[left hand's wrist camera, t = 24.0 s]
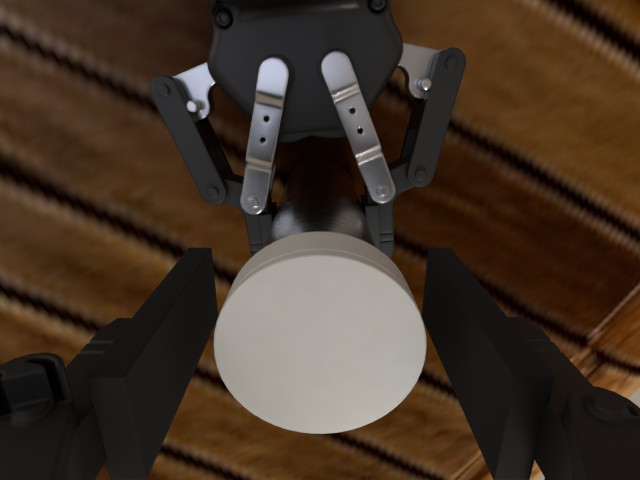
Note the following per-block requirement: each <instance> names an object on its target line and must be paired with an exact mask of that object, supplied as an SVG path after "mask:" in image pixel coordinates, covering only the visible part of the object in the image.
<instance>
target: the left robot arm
mask: <svg viewBox="0 0 640 480" xmlns="http://www.w3.org/2000/svg"><path fill="white" fill-rule="evenodd" d="M217 319H218V308H217V299H216V289H215V279H214V269H213V260H212V250H211V248H189V249H188V250H187V251H186V252H185V254H184V255H183V256H182V257H181V259H180V260H179V261H178V262H177V263H176V265H175V266H174V267H173V268H172V270H171V271H170V272H169V273H168V275H167V276H166V277H165V278H164V279H163V281H162V282H161V283H160V284H159V286H158V287H157V288H156V289H155V291H154V292H153V293H152V294H151V295H150V297H149V298H148V299H147V300H146V302H145V303H144V304H143V305H142V306H141V308H140V309H139V310H138V311H137V313H136V314H135V315H134V316H133V318H118V319H116V320H114V321H113V322H111V323H110V324H108V325H106V326H105V327H103V328H101V329H100V330H99V331H98V333H97V334H96V335H95V336H94V337H93V338H92V339H91V340H90V343H89V344H87V345H86V346H85V347H84V348H83V349H82V350H81V351H80V354H78V355H77V356H76V357H75V358H74V359H73V360H72V361H71V362H70V363H69V365H68V366H67V367H66V368H65V366H64V363H63V359H62V358H61V357H59V356H58V355H56V354H51V353H36V354H29V355H26V356H22V357H19V358H15V359H13V360H11V361H8V362H6V363H4V364H2V365H0V480H95V479H96V477H97V475H98V474H99V472H100V470H101V468H102V467H103V465H104V463H105V461H106V463H107V467H108V471H109V475H110V479H111V480H146V479H147V477H148V475H149V473H150V470H151V468H152V466H153V464H154V461H155V459H156V457H157V455H158V452H159V450H160V448H161V446H162V443H163V441H164V439H165V437H166V434H167V432H168V430H169V427H170V425H171V423H172V421H173V418H174V416H175V414H176V412H177V409H178V407H179V405H180V403H181V400H182V398H183V396H184V394H185V391H186V389H187V387H188V385H189V382H190V380H191V378H192V375H193V373H194V371H195V369H196V366H197V364H198V362H199V360H200V357H201V355H202V353H203V351H204V348H205V346H206V344H207V342H208V339H209V337H210V335H211V333H212V330H213V328H214V326H215V323H216V321H217ZM422 319H423V321H424V323H425V326H426V328H427V330H428V333H429V335H430V337H431V339H432V342H433V344H434V346H435V348H436V351H437V353H438V355H439V357H440V360H441V362H442V364H443V366H444V369H445V371H446V373H447V375H448V378H449V380H450V382H451V385H452V387H453V389H454V391H455V394H456V396H457V398H458V400H459V403H460V405H461V407H462V409H463V412H464V414H465V416H466V418H467V421H468V423H469V425H470V427H471V430H472V432H473V434H474V437H475V439H476V441H477V443H478V446H479V448H480V450H481V452H482V455H483V457H484V459H485V461H486V464H487V466H488V468H489V470H490V473H491V475H492V477H493V480H529V479H530V475H531V471H532V467H533V463H534V459H535V461H536V463H537V464H538V466H539V468H540V470H541V471H542V473H543V475H544V477H545V480H640V408H639V407H638V406H637V405H635V404H634V403H633V402H631V401H630V400H629V399H627V398H625V397H623V396H621V395H619V394H617V393H615V392H613V391H610V390H607V389H603V388H600V387H594V386H592V384H591V383H590V382H589V381H588V380H587V379H586V378H585V377H584V376H583V375H582V374H581V372H580V371H579V370H578V369H577V368H576V367H575V366H574V365H573V364H572V363H571V361H570V360H569V359H568V358H567V357H566V356H565V355H564V354H563V353H560V349H559V348H558V347H557V346H556V345H555V344H554V343H553V342H551V340H550V338H549V337H548V336H547V335H546V334H545V333H544V332H543V331H542V330H541V329H540V328H539V327H538V326H536V325H535V324H533V323H531V322H530V321H528V320H526V319H525V318H523V317H507V316H506V315H505V314H504V313H503V311H502V310H501V309H500V308H499V306H498V305H497V304H496V303H495V302H494V300H493V299H492V298H491V297H490V295H489V294H488V293H487V292H486V291H485V289H484V288H483V287H482V286H481V284H480V283H479V282H478V281H477V279H476V278H475V277H474V276H473V275H472V273H471V272H470V271H469V270H468V268H467V267H466V266H465V265H464V263H463V262H462V261H461V260H460V259H459V257H458V256H457V255H456V254H455V252H454V251H453V250H452V249H451V248H429V250H428V260H427V269H426V279H425V289H424V299H423V308H422Z"/></svg>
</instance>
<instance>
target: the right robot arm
mask: <svg viewBox="0 0 640 480" xmlns="http://www.w3.org/2000/svg"><path fill="white" fill-rule="evenodd" d="M209 6H210V12H211V18H212V25H213V33H212V40H211V44H210V47H209V50H208V54H207V62H206V63H204V64H202V65H199V66H197V67H195V68H192V69H190V70H188V71H185V72H183V73H181V74H179V75H176V76H157V77H155V78H154V79H153V80H152V81H151V83H150V94H151V96H152V98H153V100H154V102H155V104H156V106H157V108H158V110H159V112H160V114H161V116H162V118H163V120H164V122H165V124H166V126H167V128H168V130H169V132H170V134H171V136H172V138H173V140H174V142H175V144H176V146H177V148H178V150H179V152H180V154H181V156H182V158H183V160H184V162H185V164H186V166H187V168H188V170H189V172H190V174H191V176H192V178H193V180H194V182H195V184H196V186H197V188H198V190H199V192H200V194H201V196H202V198H203V199H204V200H205V201H206V202H207V203H209V204H214V205H215V204H219V203H222V204H226V205H230V206H234V207H236V208H238V209H239V210H241V212H242V213H243V214H244V216H245V220H246V226H247V232H248V238H249V244H250V250H251V256H252V257H253V256H254V255H255V254H256V253H257V252H259V251H260V250H262V249H263V248H264V246H265V243H266V241H267V238H268V235H269V232H270V229H271V226H272V223H273V220H274V218H275V215H276V212H277V203H276V202H272V199H271V192H272V187H273V182H274V176H275V171H276V166H277V161H278V157H279V153H280V148H281V143H286V142H295V141H298V140H301V139H303V138H306V137H308V136H312V135H313V136H319V137H324V138H340V137H346V138H347V140H348V143H349V145H350V148H351V150H352V153H353V155H354V158H355V160H356V163H357V165H358V168H359V170H360V173H361V175H362V178H363V180H364V189H365V195H361V206H362V209H363V212H364V215H365V218H366V221H367V223H368V226H369V229H370V232H371V235H372V238H373V241H374V244H375V246H376V248H377V249H379V250H380V251H381V252H382V253H384V254H385V255H386V256H387V257H388V258H389V259H390V260H391V258H392V256H393V253H394V233H393V232H394V229H393V203H394V200H395V198H396V197H397V196H398V195H399V194H400V193H401V192H403V191H405V190H408V189H410V188H412V187H414V186H416V187H424V186H426V185H428V184H429V183H430V182H431V181H432V179H433V176H434V173H435V169H436V166H437V162H438V159H439V155H440V152H441V148H442V145H443V141H444V138H445V135H446V131H447V128H448V124H449V121H450V117H451V114H452V110H453V107H454V103H455V100H456V96H457V93H458V90H459V86H460V83H461V79H462V76H463V72H464V69H465V65H466V58H465V55H464V53H463V52H462V51H461V50H460V49H458V48H446V49H442V50H436V49H431V48H426V47H421V46H417V45H412V44H407V43H403V40H402V36H401V34H400V32H399V30H398V28H397V26H396V25H395V22H394V20H393V17H392V14H391V9H390V0H209ZM397 67H398V68H400V69H401V70H402V71H403V73H404V75H405V90H406V92H407V93H408V95H410V96H411V97H413V98H415V100H414V104H413V108H412V112H411V116H410V120H409V124H408V128H407V131H406V135H405V139H404V143H403V147H402V151H401V155H400V159H398V160H396V161H394V162H392V163H389V164H386V161H385V159H384V156H383V153H382V148H381V145H380V142H379V140H378V137H377V134H376V131H375V129H374V126H373V123H372V121H371V118H370V115H369V112H370V110H371V109H372V107H373V105H374V104H375V102H376V100H377V99H378V97H379V96H380V94H381V92H382V91H383V89H384V87H385V86H386V84H387V82H388V81H389V79H390V78H391V76H392V74H393V73H394V71H395V69H396V68H397ZM217 85H218V86H219V87H220V88H221V89H222V90H223V92H224V93H225V94H226V95H227V96H228V97H229V98H230V99H231V100H232V102H233V103H234V104H235V105H236V106H237V107H238V108H239V109H240V110H241V112H242V113H243V114H244V115H245V116H246V117H247V118H248V119H249V120H250V122H251V129H250V135H249V141H248V147H247V153H246V169H245V175H244V177H243V176H239V175H235V174H233V172H232V169H231V167H230V165H229V163H228V161H227V158H226V156H225V154H224V152H223V150H222V148H221V145H220V143H219V141H218V139H217V137H216V135H215V132H214V130H213V128H212V126H211V124H210V122H209V119H208V117H209V116H211V115H212V113H213V111H214V106H215V105H214V101H213V91H214V88H215V87H216V86H217Z"/></svg>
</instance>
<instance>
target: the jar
mask: <svg viewBox="0 0 640 480" xmlns="http://www.w3.org/2000/svg"><path fill="white" fill-rule="evenodd" d="M306 232H334V233H341V234H345V235H349V236H352V237H355V238H358V239H360V240H362V241H365V242H367V243H369V244H370V245H372V246H374V247H376V246H375V244H374V241H373V238H372V235H371V232H370V229H369V226H368V223H367V221H366V218H365V215H364V212H363V209H362V206H361V203H360V200H359V198H358V195H357V192H356V189H355V186H354V183H353V180H352V178H351V176H350V174H349V173H348V171H347V170H346V169H345V168H344V167H343V166H342V165H340V164H339V163H337V162H335V161H333V160H330V159H325V158H315V159H310V160H307V161H305V162H303V163H301V164H300V165H298V166H297V167H296V168H295V169H294V170H293V171H292V173H291V174H290V176H289V178H288V180H287V183H286V186H285V189H284V192H283V195H282V197H281V200H280V203H279V206H278V209H277V212H276V215H275V218H274V220H273V223H272V226H271V229H270V232H269V235H268V238H267V241H266V243H265V246H264V248H265V247H266V246H268V245H270V244H271V243H273V242H275V241H277V240H280V239H282V238H285V237H288V236H291V235H295V234H300V233H306Z"/></svg>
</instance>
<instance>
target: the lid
mask: <svg viewBox="0 0 640 480" xmlns="http://www.w3.org/2000/svg"><path fill="white" fill-rule="evenodd" d="M425 355H426V332H425V326H424V323H423V320H422V317H421V314H420V312H419V309H418V307H417V305H416V302H415V300H414V298H413V296H412V293H411V291H410V289H409V287H408V284H407V282H406V281H405V279H404V277H403V275H402V273H401V272H400V270H399V269H398V268H397V266H396V265H395V264H394V263H393V262H392V261H391V260H390V259H389V258H388V257H387V256H386V255H385V254H384V253H382V252H381V251H380V250H379V249H377V248H376V247H374V246H372V245H370V244H369V243H367V242H365V241H362V240H360V239H358V238H355V237H352V236H349V235H345V234H341V233H334V232H306V233H300V234H295V235H291V236H288V237H285V238H282V239H280V240H277V241H275V242H273V243H271V244H270V245H268V246H266V247H265V248H263V249H262V250H260V251H259V252H257V253H256V254H255V255H254V256H253V257H252V258H251V259H250V260H249V261H248V262H247V263H246V264H245V265H244V266H243V268H242V269H241V270H240V272H239V273H238V275H237V277H236V279H235V280H234V282H233V285H232V287H231V289H230V292H229V294H228V296H227V298H226V301H225V303H224V305H223V307H222V310H221V312H220V315H219V317H218V319H217V323H216V327H215V332H214V356H215V360H216V364H217V368H218V371H219V373H220V375H221V378H222V380H223V382H224V383H225V385H226V387H227V388H228V390H229V391H230V392H231V394H232V395H233V396H234V397H235V398H236V399H237V400H238V401H239V402H240V403H241V404H242V405H243V406H244V407H245V408H246V409H248V410H249V411H250V412H251V413H253V414H254V415H256V416H258V417H259V418H261V419H263V420H265V421H267V422H269V423H271V424H273V425H276V426H279V427H282V428H285V429H288V430H293V431H297V432H304V433H319V434H325V433H337V432H342V431H348V430H352V429H355V428H358V427H362V426H364V425H367V424H369V423H371V422H373V421H375V420H377V419H379V418H381V417H383V416H384V415H386V414H387V413H388V412H390V411H391V410H393V409H394V408H395V407H396V406H397V405H398V404H400V403H401V402H402V401H403V400H404V398H405V397H406V396H407V395H408V394H409V393H410V391H411V390H412V388H413V387H414V385H415V384H416V382H417V380H418V378H419V376H420V373H421V371H422V368H423V364H424V361H425Z"/></svg>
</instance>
